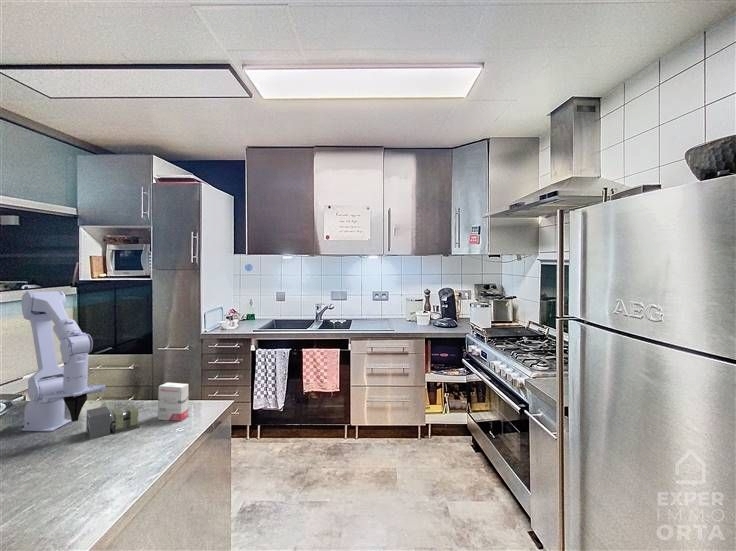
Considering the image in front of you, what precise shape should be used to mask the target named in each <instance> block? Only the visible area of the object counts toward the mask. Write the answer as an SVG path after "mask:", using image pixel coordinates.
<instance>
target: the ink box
mask: <svg viewBox="0 0 736 551" xmlns="http://www.w3.org/2000/svg"><path fill="white" fill-rule="evenodd" d="M157 393H158V394H157V395H158V396H157V397H158V398H157V420H158V421H159V420H161V421H172V422H182V421H184V420H185V419H186V418H187V417H188V416H189V383H181V382H179V383H178V382H165V383H163V384H160V385H159V386H158V392H157Z"/></svg>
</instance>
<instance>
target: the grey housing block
mask: <svg viewBox="0 0 736 551" xmlns="http://www.w3.org/2000/svg"><path fill="white" fill-rule="evenodd" d="M111 415H112V411H110V410H109V408H108V407H107V405H106V406H100V407H96V408H90V409H87V410H86V422H85V423H86V425H85V426H86V427H85V432H86V434H87V436H88V437H89V440H92V439H96V438H99V437H104V436H107V435H111V428H110V416H111ZM88 418H89V420H90V425H89V429H88Z"/></svg>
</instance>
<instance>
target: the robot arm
mask: <svg viewBox="0 0 736 551" xmlns="http://www.w3.org/2000/svg"><path fill="white" fill-rule="evenodd" d="M20 301H21V302H20V305H21V312H22V316H23V319H24V320H27V321H29V322H30V325H31V331H32V338H33V345H34V350H35V351H34V352H35V356H36V363H37V371H36V372H35V373H33V374H32V375H31V376H30V377H29V378H28V380H27V396H28V398H29V401H28V402H27V403H26V405H25V407H24V414H23V416H24V419H23V420H24V421H23V428H21V431H23V432H25V431H26V432H29V431H30V432H53V431H56V430H58V429H59V428H61V427H63V426H65V425H66V424H69V423H70V422H72V423H73V422H77V421H79V417H80V413H81V412H82V409H83V407H84V405H85V403H86V402H87V400H88V395H91V394H97V393H106V385H105V384H96V385H88V379H89V378H88V377H89V376H88V375H89V374H88V373H89V354H90V353H92V350H93V346H94V345H93V344H94V341H93V338H92V336H91V335H90V334H89V333H86V332H83V331H82V330H81V328H80V326H79V325H78V323H77V321H76V320H74V319H73V318H69V316H68V314H67V311H66V309H65V306H66V302H67V297H66V295H65V292H64V291H63V290H51V291H49V290H47V291H46V290H45V291H25V292H24V293H23V294H22V297H21V300H20ZM52 322H53V324H54V325H53V326H52ZM53 332H54V333H53ZM54 334H55V335H56V337H57V340H58V341H59V342H60V343H59V351H60V353H61V362H63V367H62V366H61V367H60V366H59V363H58V356H57V351H56V344H55V339H54ZM65 405H66V406H65ZM65 407H67V408H68V412H69V415H70V419H66V418H65V412H66V411H65V410H66V408H65Z"/></svg>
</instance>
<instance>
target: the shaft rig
mask: <svg viewBox="0 0 736 551" xmlns="http://www.w3.org/2000/svg"><path fill="white" fill-rule="evenodd" d="M138 410H139V409H137V408H136V407H135V405H133V404H131V405H126V406H125V411H122V410H121V409H120V408H119V407H118V408H113V409H111V416H110V431H111V432H113V434H114V435H117V434H120V432H121V433H124V432H128V430H129V431H132V430H136V428H137V429H140V428H141V425H140V423H138V420H139V411H138ZM89 425H90V420H89V418H88V429H89ZM116 433H117V434H116Z"/></svg>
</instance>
